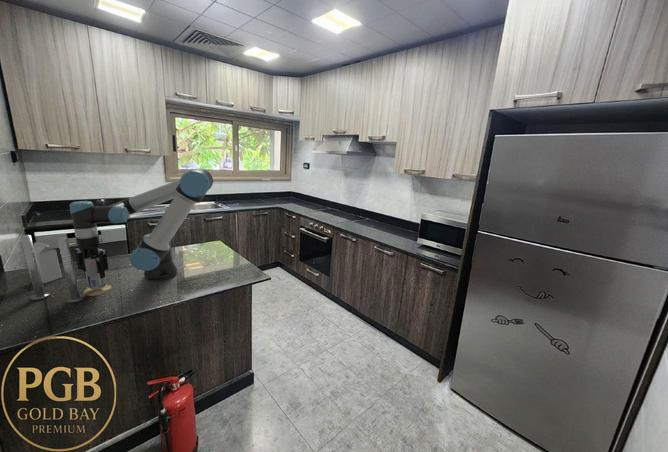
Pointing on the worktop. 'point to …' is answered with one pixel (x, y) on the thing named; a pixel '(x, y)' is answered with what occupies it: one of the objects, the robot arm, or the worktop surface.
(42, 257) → the milk carton
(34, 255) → the post
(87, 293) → the coaster
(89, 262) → the beverage can
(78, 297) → the post
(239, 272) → the worktop surface
